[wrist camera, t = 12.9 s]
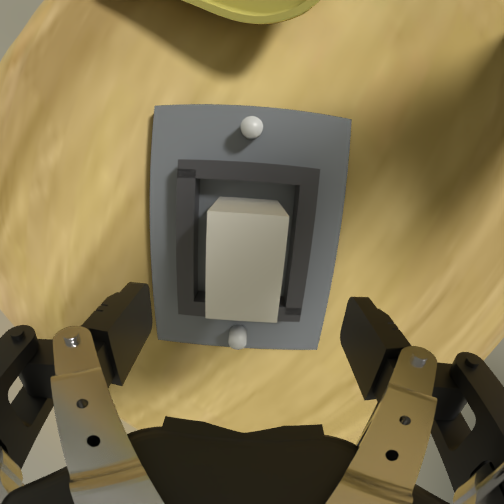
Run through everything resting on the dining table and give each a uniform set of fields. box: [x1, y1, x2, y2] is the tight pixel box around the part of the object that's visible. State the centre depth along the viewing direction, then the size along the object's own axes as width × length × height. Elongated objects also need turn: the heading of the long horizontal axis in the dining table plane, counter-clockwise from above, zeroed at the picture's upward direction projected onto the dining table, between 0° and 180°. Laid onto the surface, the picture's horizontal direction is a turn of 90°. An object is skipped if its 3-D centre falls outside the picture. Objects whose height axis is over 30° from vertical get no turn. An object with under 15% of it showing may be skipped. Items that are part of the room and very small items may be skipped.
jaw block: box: [205, 196, 289, 323], centre depth 17 cm, size 4×6×6 cm, turn 176°
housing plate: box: [150, 104, 352, 350], centre depth 20 cm, size 14×19×3 cm
